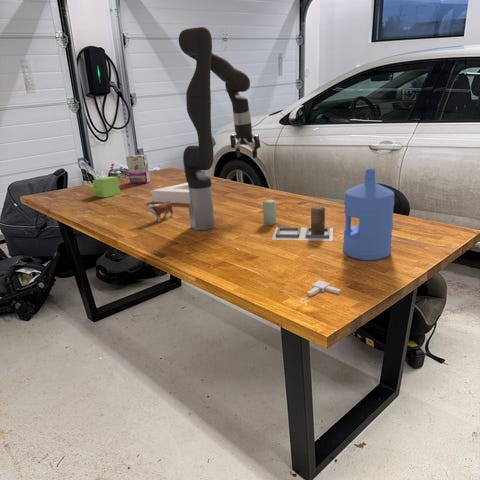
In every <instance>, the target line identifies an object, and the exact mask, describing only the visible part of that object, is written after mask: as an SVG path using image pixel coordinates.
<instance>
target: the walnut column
mask: <svg viewBox="0 0 480 480" xmlns="http://www.w3.org/2000/svg"><path fill="white" fill-rule="evenodd" d="M325 217H326V208H325V206H319V205H316V206H311V208H310V227H311V234H314V235H324V234H325V228H326V227H325V226H326V225H325V224H326V223H325V222H326V221H325V220H326V218H325Z"/></svg>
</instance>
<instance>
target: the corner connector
mask: <svg viewBox="0 0 480 480" xmlns="http://www.w3.org/2000/svg"><path fill="white" fill-rule="evenodd" d="M320 291H321V292H325V291H326V292H330V293H333V294H336V295H340V294H342V293H341V292H342V291H341V289H340V288H337V287H334V286H331V283H330V282H326V281H323V280H320V279H319V280H317V281H316V282H314V283H313V284H311V289H310V290H309V291H307V293H306V294H307V296H310V297H313V296H315V295H316V294H318V293H319V292H320Z"/></svg>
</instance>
